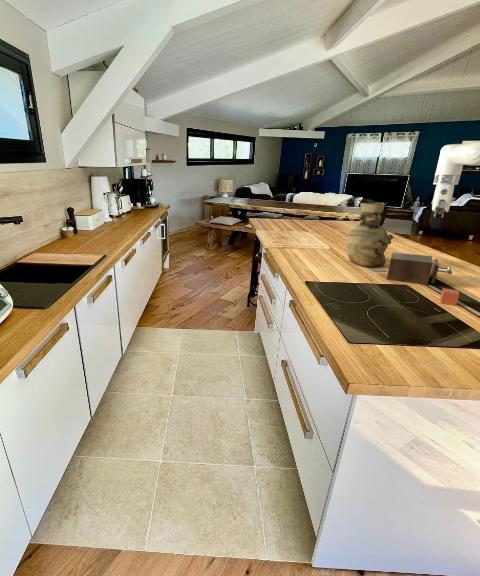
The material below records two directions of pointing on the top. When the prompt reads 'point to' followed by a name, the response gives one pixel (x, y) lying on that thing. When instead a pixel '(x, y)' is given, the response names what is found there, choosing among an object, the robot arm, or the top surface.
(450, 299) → the block
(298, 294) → the top surface
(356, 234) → the ceramic vessel
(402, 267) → the cabinet
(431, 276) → the drawer
